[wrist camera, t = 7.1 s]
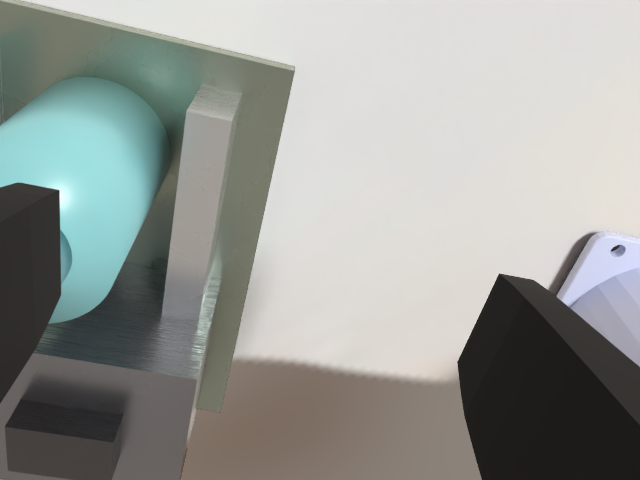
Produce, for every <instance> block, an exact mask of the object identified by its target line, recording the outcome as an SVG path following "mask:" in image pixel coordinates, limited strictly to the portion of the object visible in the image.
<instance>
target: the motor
mask: <svg viewBox="0 0 640 480" xmlns="http://www.w3.org/2000/svg"><path fill="white" fill-rule="evenodd" d="M294 71H295V66H290V65H286V64H282V63H278V62H274V61H270V60H265V59H261V58H257V57H253V56H249V55H245V54H241V53H236V52H232V51H228V50H224V49H220V48H216V47H212V46H207V45H203V44H199V43H195V42H191V41H187V40H182V39H178V38H174V37H170V36H166V35H162V34H158V33H153V32H149V31H145V30H141V29H137V28H133V27H128V26H124V25H120V24H116V23H112V22H108V21H104V20H99V19H95V18H91V17H87V16H83V15H79V14H75V13H70V12H66V11H62V10H58V9H54V8H50V7H45V6H41V5H37V4H33V3H29V2H25V1H21V0H0V125H1V124H3V123H4V122H5V121H6V120H8V119H9V118H10V117H12V116H13V115H14V114H16V113H17V112H18V111H19V110H21V109H22V108H23V107H25V106H26V105H27V104H28V103H30V102H31V101H32V100H34V99H35V98H36V97H37V96H39V95H40V94H41V93H43V92H44V91H45V90H47V89H48V88H49V87H51V86H52V85H54V84H56V83H58V82H60V81H63V80H67V79H70V78H76V77H94V78H101V79H105V80H109V81H112V82H115V83H118V84H120V85H122V86H124V87H126V88H128V89H129V90H131V91H132V92H134V93H136V94H137V95H138V96H139V97H141V98H142V99H143V100H144V101H145V102H146V103H147V104H148V105H149V106H150V107H151V108H152V109H153V110H154V112H155V113H156V114H157V116H158V117H159V119H160V120H161V122H162V124H163V126H164V128H165V130H166V133H167V136H168V139H169V144H170V156H171V157H170V166H169V169H168V173H167V175H166V177H165V180H164V182H163V184H162V186H161V188H160V190H159V192H158V194H157V196H156V198H155V200H154V202H153V204H152V206H151V208H150V210H149V212H148V214H147V216H146V218H145V220H144V222H143V224H142V226H141V228H140V230H139V233H138V235H137V237H136V239H135V241H134V243H133V245H132V247H131V249H130V251H129V253H128V255H127V257H126V259H125V261H124V263H123V265H122V267H121V269H120V271H119V273H118V275H117V277H116V279H115V281H114V283H113V285H112V287H111V290H110V291H109V293H108V294H107V296H106V297H105V298H104V299H103V301H102V302H101V303H100V304H99V305H98V306H96V307H95V308H94V309H92V310H91V311H89V312H88V313H86V314H84V315H82V316H80V317H77V318H75V319H72V320H68V321H64V322H58V323H51V324H48V325H47V327H46V329H45V331H44V333H43V335H42V337H41V339H40V341H39V343H38V346H37V348H36V349H35V351H34V352H33V354H32V356H31V357H30V359H29V360H28V362H27V363H26V365H25V366H24V368H23V370H22V371H21V373H20V374H19V376H18V377H17V379H16V380H15V382H14V383H13V385H12V386H11V388H10V390H9V391H8V393H7V394H6V396H5V397H4V399H3V400H2V402H1V403H0V479H5V480H181V476H182V472H183V467H184V463H185V458H186V453H187V450H188V445H189V441H190V436H191V432H192V428H193V423H194V419H195V414H196V410H197V409H200V410H207V411H213V412H221V409H222V404H223V399H224V395H225V390H226V385H227V381H228V376H229V372H230V367H231V362H232V358H233V353H234V349H235V344H236V339H237V335H238V330H239V326H240V321H241V316H242V312H243V307H244V302H245V298H246V293H247V289H248V284H249V279H250V275H251V270H252V265H253V261H254V256H255V252H256V247H257V242H258V238H259V233H260V229H261V224H262V219H263V215H264V210H265V205H266V201H267V196H268V192H269V187H270V182H271V178H272V173H273V168H274V164H275V159H276V155H277V150H278V145H279V141H280V136H281V132H282V127H283V122H284V118H285V113H286V108H287V104H288V99H289V95H290V90H291V85H292V81H293V76H294Z"/></svg>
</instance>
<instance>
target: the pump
mask: <svg viewBox="0 0 640 480" xmlns="http://www.w3.org/2000/svg"><path fill="white" fill-rule="evenodd" d="M170 157H171V156H170V144H169V139H168V136H167V133H166V130H165V128H164V126H163V124H162V122H161V120H160V119H159V117H158V116H157V114H156V113H155V112H154V110H153V109H152V108H151V107H150V106H149V105H148V104H147V103H146V102H145V101H144V100H143V99H142V98H141V97H139V96H138V95H137V94H136V93H134V92H132V91H131V90H129V89H128V88H126V87H124V86H122V85H120V84H118V83H115V82H112V81H109V80H105V79H101V78H94V77H76V78H70V79H67V80H63V81H60V82H58V83H56V84H54V85H52V86H51V87H49V88H48V89H47V90H45V91H44V92H43V93H41V94H40V95H39V96H37V97H36V98H35V99H34V100H32V101H31V102H30V103H28V104H27V105H26V106H25V107H23V108H22V109H21V110H19V111H18V112H17V113H16V114H14V115H13V116H12V117H10V118H9V119H8V120H6V121H5V122H4V123H3V124H1V125H0V187H4V186H7V185H10V184H14V183H18V182H20V183H25V184H31V185H36V186H41V187H46V188H52V189H57V190H60V249H61V297H60V299H59V301H58V303H57V305H56V308H55V310H54V312H53V314H52V316H51V319H50V321H49V323H48V324H51V323H58V322H64V321H68V320H72V319H75V318H77V317H80V316H82V315H84V314H86V313H88V312H89V311H91V310H92V309H94V308H95V307H96V306H98V305H99V304H100V303H101V302H102V301H103V299H104V298H105V297H106V296H107V294H108V293H109V291H110V290H111V287H112V285H113V283H114V281H115V279H116V277H117V275H118V273H119V271H120V269H121V267H122V265H123V263H124V261H125V259H126V257H127V255H128V253H129V251H130V249H131V247H132V245H133V243H134V241H135V239H136V237H137V235H138V233H139V230H140V228H141V226H142V224H143V222H144V220H145V218H146V216H147V214H148V212H149V210H150V208H151V206H152V204H153V202H154V200H155V198H156V196H157V194H158V192H159V190H160V188H161V186H162V184H163V182H164V180H165V177H166V175H167V173H168V169H169V166H170Z"/></svg>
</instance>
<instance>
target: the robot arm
mask: <svg viewBox="0 0 640 480" xmlns="http://www.w3.org/2000/svg"><path fill="white" fill-rule="evenodd" d="M617 245H620V247H619V248H618V249H617V250H615V251H611V249H612V248H613V247H615V246H617ZM60 297H61V249H60V190H57V189H52V188H46V187H41V186H36V185H31V184H25V183H20V182H18V183H14V184H10V185H7V186H4V187H0V403H1V402H2V400H3V399H4V397H5V396H6V394H7V393H8V391H9V390H10V388H11V386H12V385H13V383H14V382H15V380H16V379H17V377H18V376H19V374H20V373H21V371H22V370H23V368H24V366H25V365H26V363H27V362H28V360H29V359H30V357H31V356H32V354H33V352H34V351H35V349H36V348H37V346H38V343H39V341H40V339H41V337H42V335H43V333H44V331H45V329H46V327H47V325H48V323H49V321H50V319H51V316H52V314H53V312H54V310H55V308H56V305H57V303H58V301H59V299H60ZM458 371H459V379H460V388H461V396H462V402H463V409H464V415H465V419H466V423H467V427H468V431H469V435H470V438H471V442H472V446H473V449H474V453H475V457H476V460H477V464H478V467H479V471H480V474H481V478H482V480H640V238H635V237H631V236H626V235H621V234H617V233H612V232H607V231H602V232H599V233H596V234H595V235H593V236H592V237H591V238H590V239H589V240H588V242H587V244H586V245H585V247H584V249H583V251H582V252H581V254H580V256H579V258H578V259H577V261H576V263H575V265H574V266H573V268H572V270H571V272H570V273H569V275H568V277H567V279H566V280H565V282H564V284H563V286H562V287H561V289H560V291H559V292H558V294H557V296H555V295H553V294H552V293H551V292H550V291H548V290H547V289H546V288H544V287H543V286H541V285H540V284H538V283H537V282H535V281H534V280H530V279H525V278H520V277H515V276H509V275H504V274H499V275H498V277H497V279H496V282H495V284H494V286H493V288H492V290H491V292H490V294H489V296H488V299H487V301H486V303H485V305H484V307H483V309H482V311H481V313H480V315H479V318H478V320H477V322H476V324H475V326H474V328H473V330H472V332H471V335H470V337H469V339H468V341H467V343H466V345H465V347H464V349H463V352H462V354H461V356H460V358H459V360H458Z"/></svg>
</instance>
